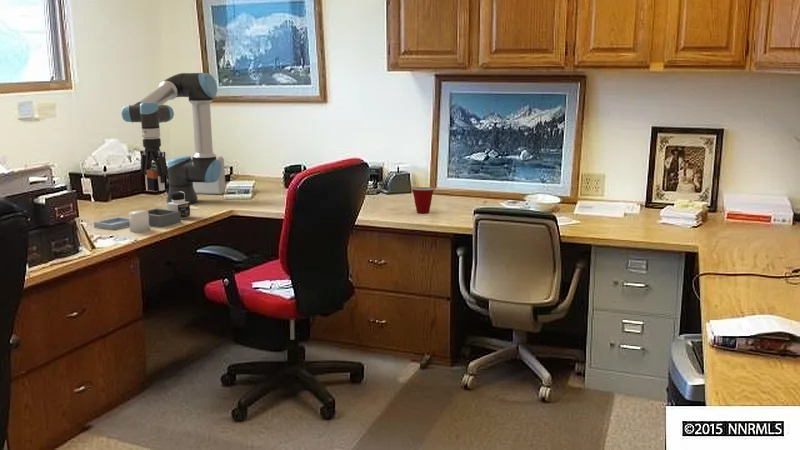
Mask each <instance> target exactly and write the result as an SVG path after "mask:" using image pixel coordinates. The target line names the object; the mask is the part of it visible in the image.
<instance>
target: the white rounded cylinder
mask: <svg viewBox="0 0 800 450" xmlns="http://www.w3.org/2000/svg"><path fill="white" fill-rule="evenodd" d="M128 218H129V223H130V226H129V231H130V233H145V232H148V231H151V228H150V227H151V226H149V215H148V211H147V210H145V209H140V210H132V211H129V212H128Z"/></svg>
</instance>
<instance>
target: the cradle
mask: <svg viewBox="0 0 800 450" xmlns="http://www.w3.org/2000/svg"><path fill="white" fill-rule="evenodd" d="M146 211H148V215H149V226H150V227H154V228H163V227H168V226H172V225H175V224H179V223H182V219H181V214H180V211H174V210H168V208H167V209H165V208H159V207H158V208H157V207H156V208H152V209H149V210H148V209H147V210H146Z"/></svg>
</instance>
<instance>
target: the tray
mask: <svg viewBox="0 0 800 450" xmlns="http://www.w3.org/2000/svg"><path fill="white" fill-rule="evenodd" d="M93 226H94V228H97V229H105V230H110V231H115V230H117V229H118V230H119V229H123V228H127V227H130V223H129V217H123V216H116V217H112V218H111V217H110V218H106V219H102V220H99V221H94V222H93Z"/></svg>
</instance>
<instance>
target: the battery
mask: <svg viewBox="0 0 800 450" xmlns="http://www.w3.org/2000/svg"><path fill="white" fill-rule="evenodd" d="M146 173H147V185H148V189H147V190H148V191H152V192H160V191H159V184H158V175H159V173H158V170H157V167H152V166H151V168H150V169H147V170H146ZM161 173H162V172H161Z"/></svg>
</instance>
